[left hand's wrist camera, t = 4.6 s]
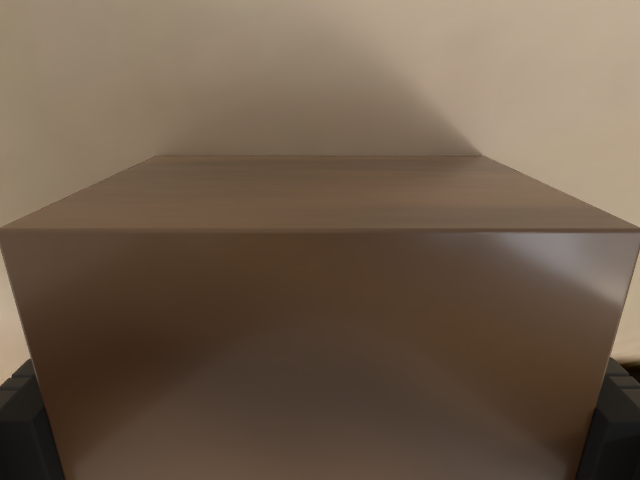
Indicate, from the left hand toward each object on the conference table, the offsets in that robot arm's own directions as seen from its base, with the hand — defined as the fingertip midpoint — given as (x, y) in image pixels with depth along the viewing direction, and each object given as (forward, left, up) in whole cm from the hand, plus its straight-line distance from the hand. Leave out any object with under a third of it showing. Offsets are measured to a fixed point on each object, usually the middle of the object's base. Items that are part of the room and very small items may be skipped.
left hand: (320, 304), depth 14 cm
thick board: (+21, +15, 0) cm, 26 cm away
